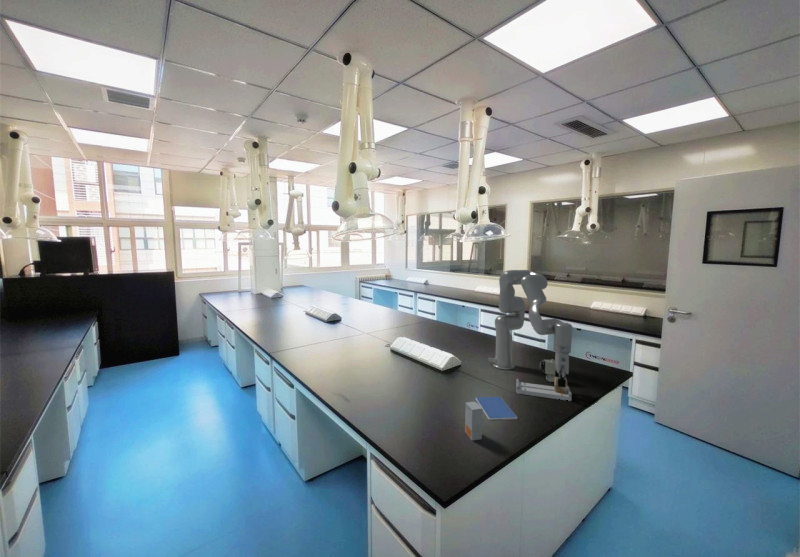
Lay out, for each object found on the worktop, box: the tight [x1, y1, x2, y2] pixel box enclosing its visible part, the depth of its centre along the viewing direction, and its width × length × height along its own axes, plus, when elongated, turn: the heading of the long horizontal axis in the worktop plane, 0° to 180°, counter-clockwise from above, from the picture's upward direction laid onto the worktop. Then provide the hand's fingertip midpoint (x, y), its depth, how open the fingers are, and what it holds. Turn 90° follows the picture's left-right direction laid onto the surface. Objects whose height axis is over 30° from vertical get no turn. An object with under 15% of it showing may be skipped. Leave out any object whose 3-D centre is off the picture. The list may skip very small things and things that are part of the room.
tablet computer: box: [475, 396, 519, 421], centre depth 140 cm, size 19×13×1 cm, turn 4°
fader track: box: [515, 378, 573, 402], centre depth 155 cm, size 24×10×4 cm, turn 71°
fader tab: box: [553, 377, 568, 393], centre depth 153 cm, size 5×4×6 cm
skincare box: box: [464, 401, 483, 441], centre depth 118 cm, size 6×4×12 cm
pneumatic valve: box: [539, 358, 556, 383], centre depth 170 cm, size 6×12×12 cm, turn 76°
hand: (559, 382), depth 153 cm, fingers open, 9 cm apart
